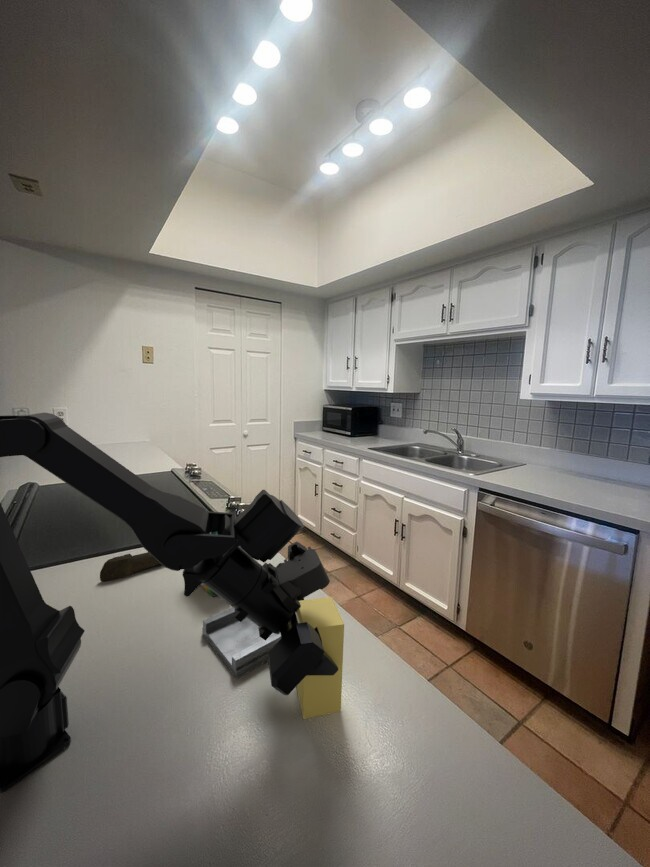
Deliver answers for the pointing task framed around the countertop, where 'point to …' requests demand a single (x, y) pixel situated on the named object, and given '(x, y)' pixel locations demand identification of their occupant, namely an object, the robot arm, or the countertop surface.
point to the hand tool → (126, 566)
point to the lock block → (326, 689)
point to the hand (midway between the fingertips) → (328, 650)
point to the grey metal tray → (238, 642)
